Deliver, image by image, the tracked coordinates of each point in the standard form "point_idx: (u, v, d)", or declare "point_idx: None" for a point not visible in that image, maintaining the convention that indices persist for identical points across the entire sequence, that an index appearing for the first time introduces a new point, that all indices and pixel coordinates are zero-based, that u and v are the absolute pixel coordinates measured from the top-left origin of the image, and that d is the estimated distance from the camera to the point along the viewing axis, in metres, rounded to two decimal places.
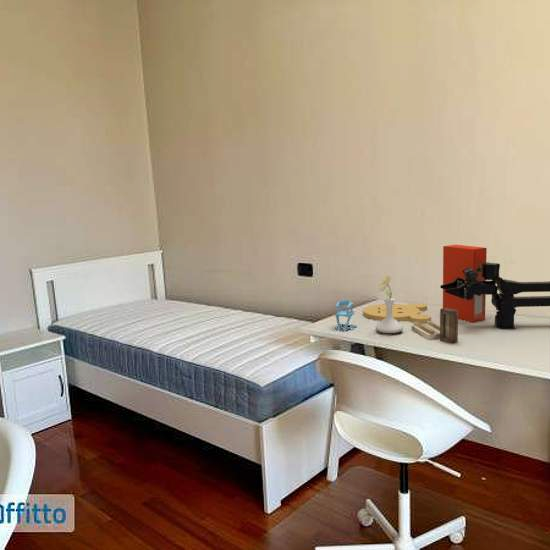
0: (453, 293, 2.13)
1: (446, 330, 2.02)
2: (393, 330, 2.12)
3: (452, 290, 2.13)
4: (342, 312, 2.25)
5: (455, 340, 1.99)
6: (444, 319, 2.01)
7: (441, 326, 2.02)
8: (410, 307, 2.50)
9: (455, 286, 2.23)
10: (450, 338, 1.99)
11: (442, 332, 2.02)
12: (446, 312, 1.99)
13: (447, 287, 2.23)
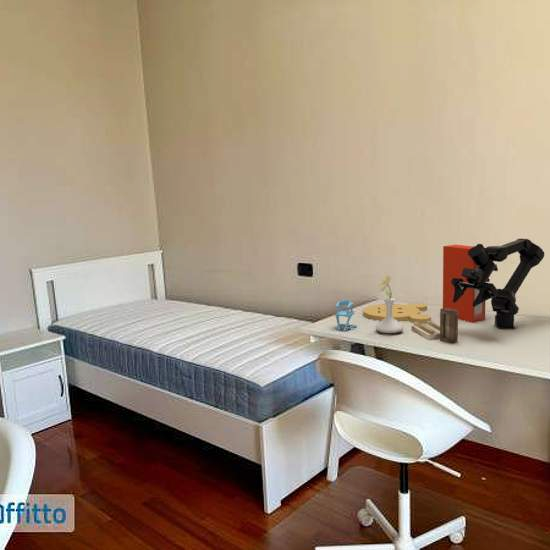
0: (480, 301, 2.00)
1: (446, 330, 2.02)
2: (393, 330, 2.12)
3: (478, 300, 1.99)
4: (342, 312, 2.25)
5: (455, 340, 1.99)
6: (444, 319, 2.01)
7: (441, 326, 2.02)
8: (410, 307, 2.50)
9: (460, 289, 2.09)
10: (450, 338, 1.99)
11: (442, 332, 2.02)
12: (446, 312, 1.99)
13: (457, 297, 2.08)
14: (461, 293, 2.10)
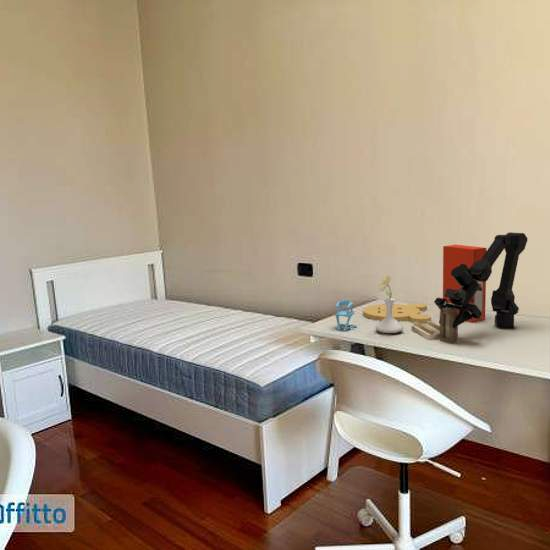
0: (460, 322, 1.98)
1: (446, 330, 2.02)
2: (393, 330, 2.12)
3: (458, 321, 1.97)
4: (342, 312, 2.25)
5: (455, 340, 1.99)
6: (444, 319, 2.01)
7: (441, 326, 2.02)
8: (410, 307, 2.50)
9: None
10: (450, 338, 1.99)
11: (442, 332, 2.02)
12: (446, 312, 1.99)
13: None
14: None
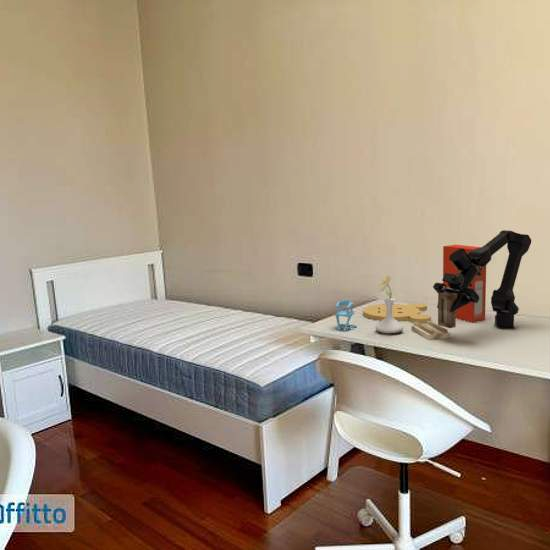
0: (458, 306, 1.98)
1: (444, 315, 2.02)
2: (393, 330, 2.12)
3: (456, 305, 1.97)
4: (342, 312, 2.25)
5: (453, 324, 1.99)
6: (442, 303, 2.01)
7: (439, 311, 2.02)
8: (410, 307, 2.50)
9: None
10: (448, 322, 1.99)
11: (440, 317, 2.02)
12: (444, 296, 1.99)
13: None
14: None
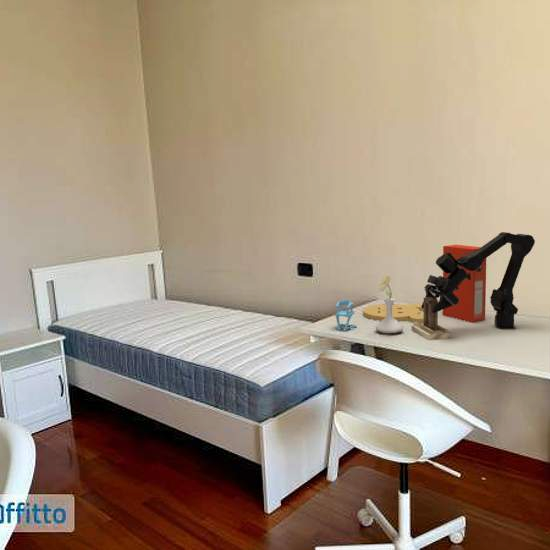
0: (440, 308, 2.06)
1: (428, 318, 2.12)
2: (393, 330, 2.12)
3: (437, 307, 2.05)
4: (342, 312, 2.25)
5: (434, 328, 2.09)
6: (426, 307, 2.12)
7: (424, 314, 2.13)
8: (410, 307, 2.50)
9: (431, 295, 2.16)
10: (429, 326, 2.10)
11: (425, 320, 2.13)
12: (427, 301, 2.10)
13: None
14: None
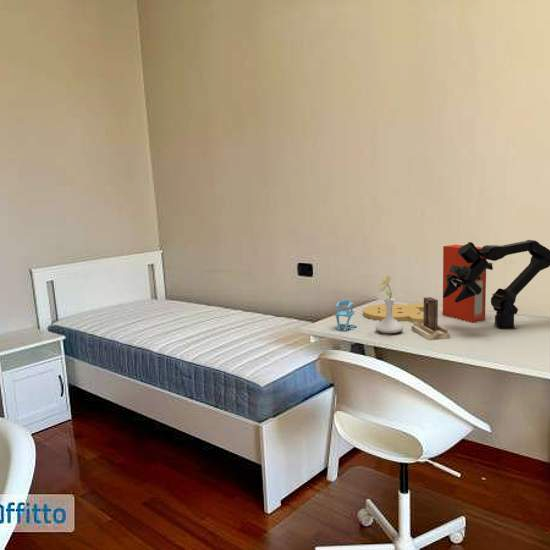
0: (463, 298, 2.07)
1: (428, 318, 2.12)
2: (393, 330, 2.12)
3: (460, 296, 2.06)
4: (342, 312, 2.25)
5: (434, 328, 2.09)
6: (426, 307, 2.12)
7: (424, 314, 2.13)
8: (410, 307, 2.50)
9: (452, 285, 2.17)
10: (429, 326, 2.10)
11: (425, 320, 2.13)
12: (427, 301, 2.10)
13: (448, 292, 2.17)
14: (453, 289, 2.17)
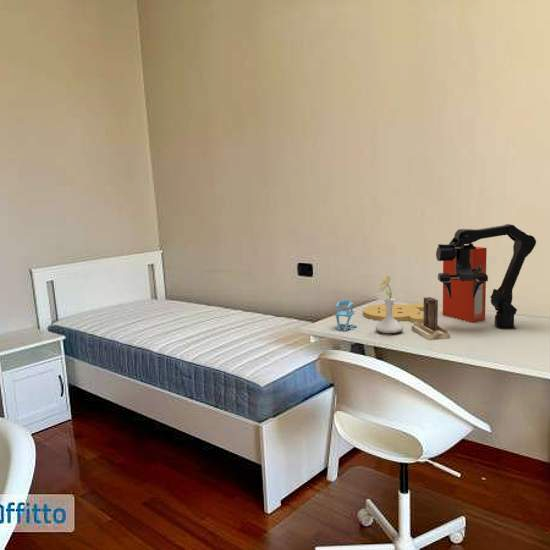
0: None
1: (428, 318, 2.12)
2: (393, 330, 2.12)
3: None
4: (342, 312, 2.25)
5: (434, 328, 2.09)
6: (426, 307, 2.12)
7: (424, 314, 2.13)
8: (410, 307, 2.50)
9: None
10: (429, 326, 2.10)
11: (425, 320, 2.13)
12: (427, 301, 2.10)
13: None
14: None
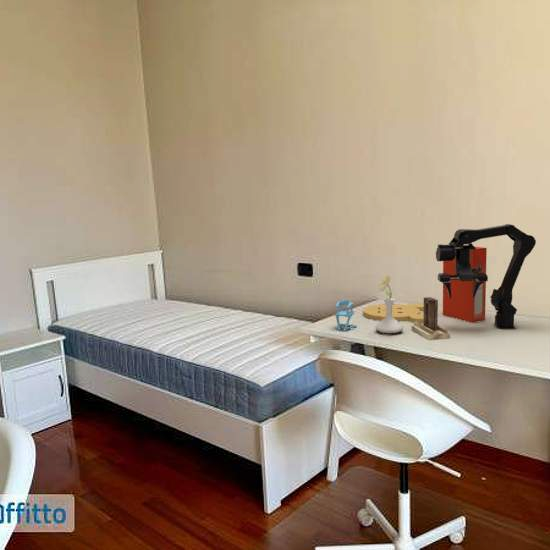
0: None
1: (428, 318, 2.12)
2: (393, 330, 2.12)
3: None
4: (342, 312, 2.25)
5: (434, 328, 2.09)
6: (426, 307, 2.12)
7: (424, 314, 2.13)
8: (410, 307, 2.50)
9: None
10: (429, 326, 2.10)
11: (425, 320, 2.13)
12: (427, 301, 2.10)
13: None
14: None
